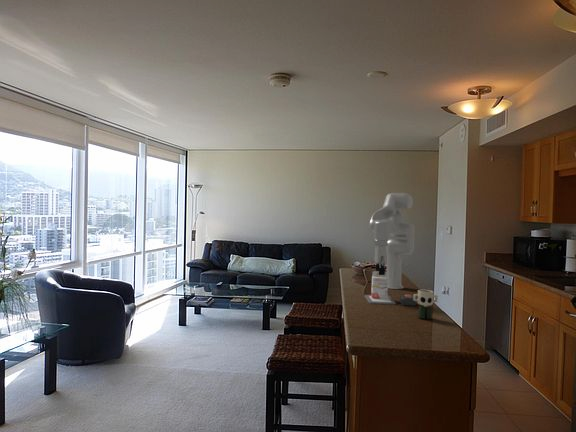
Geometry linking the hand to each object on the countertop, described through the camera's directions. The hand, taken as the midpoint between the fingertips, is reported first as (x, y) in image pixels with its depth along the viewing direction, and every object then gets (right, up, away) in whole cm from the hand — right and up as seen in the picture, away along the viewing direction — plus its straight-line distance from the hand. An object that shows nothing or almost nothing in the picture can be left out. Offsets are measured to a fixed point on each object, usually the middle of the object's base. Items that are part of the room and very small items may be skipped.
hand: (380, 273), depth 236 cm
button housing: (+13, -15, -9) cm, 22 cm away
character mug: (+13, -16, -38) cm, 43 cm away
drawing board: (-1, -15, -2) cm, 15 cm away
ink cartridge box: (-1, -14, 0) cm, 14 cm away
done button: (+13, -13, -9) cm, 20 cm away
